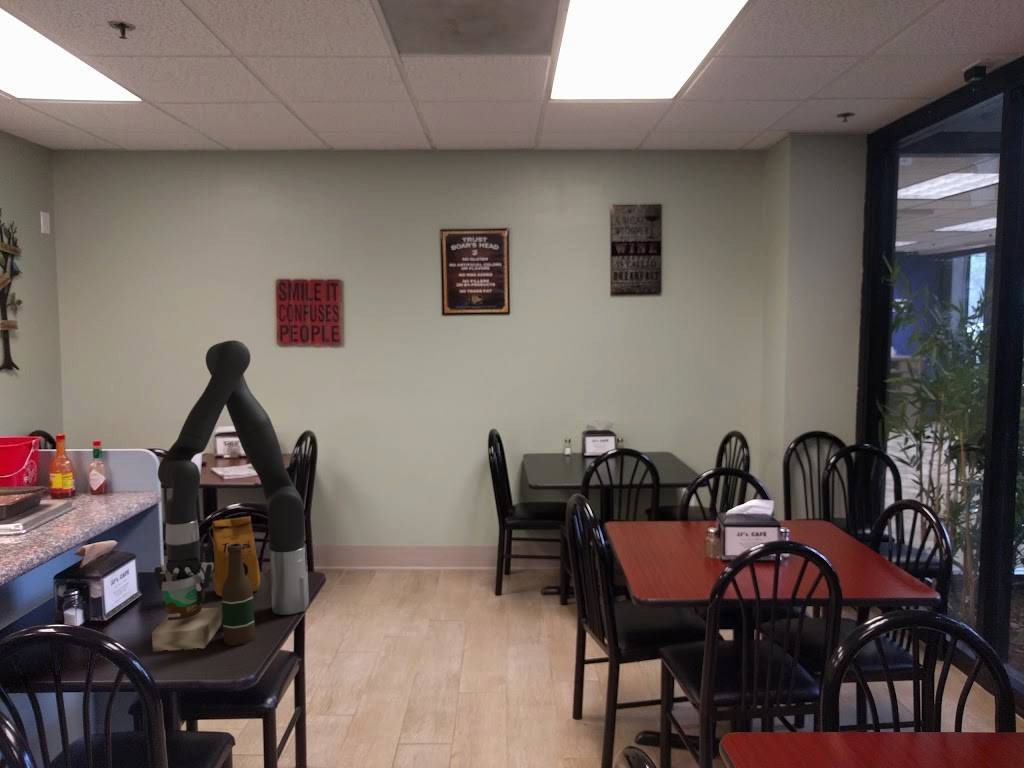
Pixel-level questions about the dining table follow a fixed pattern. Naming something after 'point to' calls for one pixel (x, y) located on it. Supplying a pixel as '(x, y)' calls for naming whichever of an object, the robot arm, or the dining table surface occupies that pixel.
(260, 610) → the dining table surface
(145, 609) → the dining table surface
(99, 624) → the dining table surface
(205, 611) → the birch block
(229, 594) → the beer bottle
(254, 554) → the coffee package
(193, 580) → the food container
